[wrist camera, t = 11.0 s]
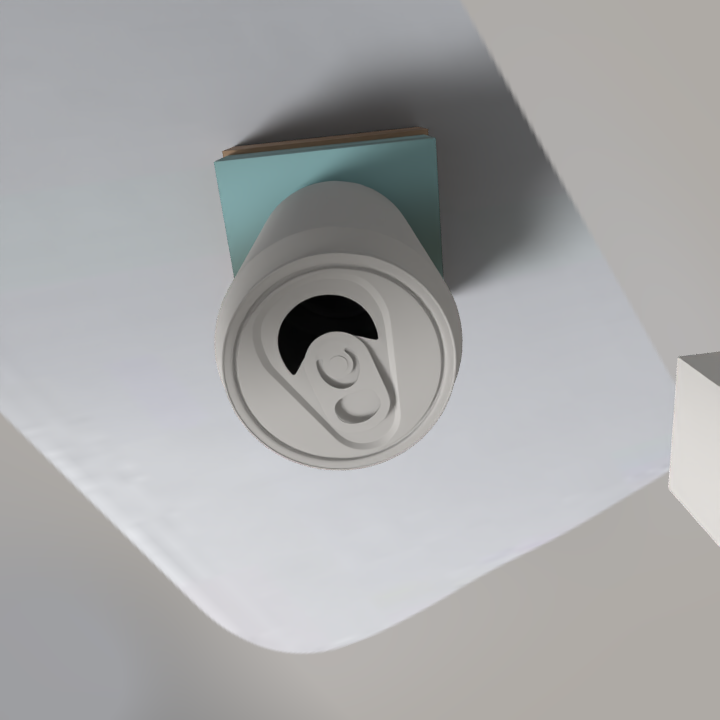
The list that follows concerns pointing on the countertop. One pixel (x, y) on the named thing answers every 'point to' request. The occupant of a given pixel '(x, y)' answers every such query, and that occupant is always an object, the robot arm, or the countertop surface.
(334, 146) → the teal and brown block
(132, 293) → the countertop surface
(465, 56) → the countertop surface
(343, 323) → the beverage can
